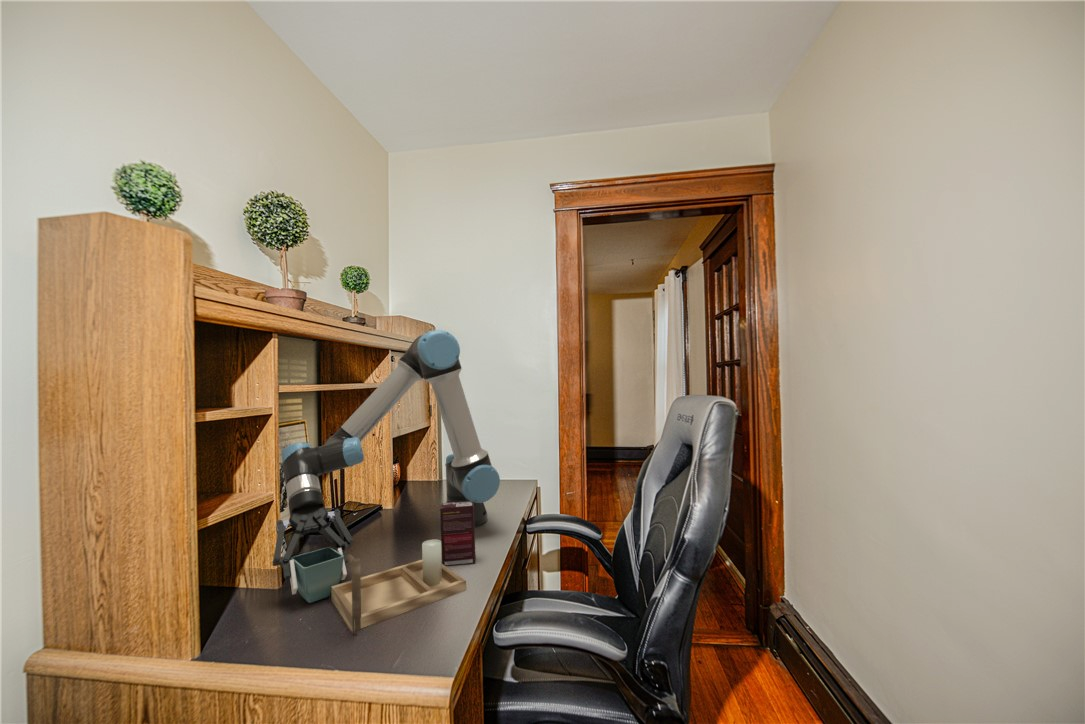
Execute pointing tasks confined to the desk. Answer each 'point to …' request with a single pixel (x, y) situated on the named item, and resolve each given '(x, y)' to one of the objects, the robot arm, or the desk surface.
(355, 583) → the caddy
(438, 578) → the pillar candle
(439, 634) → the desk surface
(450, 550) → the supplement box
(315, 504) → the robot arm
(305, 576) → the flower pot
